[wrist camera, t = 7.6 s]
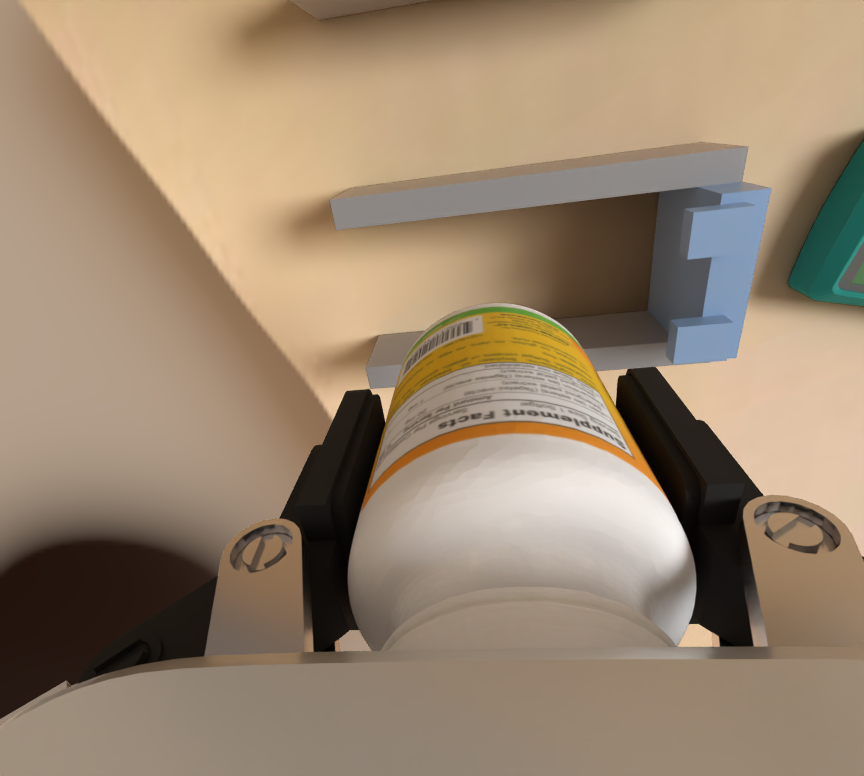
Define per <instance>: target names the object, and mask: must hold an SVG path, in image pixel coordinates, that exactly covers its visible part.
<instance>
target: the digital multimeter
mask: <svg viewBox="0 0 864 776" xmlns="http://www.w3.org/2000/svg"><path fill="white" fill-rule="evenodd" d="M788 284H789V286H790V287H791V288H792V289H794V290H796V291H798V292H800V293H802V294H804V295H806V296H808V297H809V298H811V299H813V300H815V301H823V302H832V303H840V304H849V305H857V306H864V140H863V142H862V144H861V145H860V147H859V148H858V150H857V151H856V153H855V154H854V156H853V158H852V159H851V161H850V162H849V164H848V165H847V167H846V168H845V170H844V172H843V173H842V175H841V177H840V178H839V180H838V182H837V183H836V185H835V187H834V188H833V190H832V192H831V193H830V195H829V196H828V198H827V200H826V202H825V204H824V206H823V208H822V209H821V211H820V213H819V215H818V217H817V219H816V221H815V223H814V224H813V226H812V229H811V231H810V233H809V235H808V237H807V239H806V241H805V244H804V246H803V248H802V250H801V252H800V254H799V257H798V259H797V261H796V264H795V266H794V268H793V271H792V273H791V275H790V278H789V282H788Z"/></svg>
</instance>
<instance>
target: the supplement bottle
mask: <svg viewBox="0 0 864 776" xmlns="http://www.w3.org/2000/svg"><path fill="white" fill-rule="evenodd" d="M348 592H349V599H350V605H351V609H352V612H353V615H354V618H355V621H356V623H357V626H358V628H359V630H360V632H361V634H362V636H363V638H364V639H365V641H366V643H367V644H368V646H369V647H370V648H371V650H372V651H398V650H457V649H532V648H618V647H677V646H678V644H679V643H680V641H681V639H682V637H683V635H684V633H685V631H686V629H687V627H688V624H689V622H690V619H691V617H692V613H693V609H694V604H695V596H696V570H695V563H694V559H693V554H692V551H691V548H690V545H689V542H688V539H687V536H686V534H685V532H684V530H683V528H682V526H681V524H680V522H679V520H678V518H677V515H676V513H675V512H674V510H673V508H672V506H671V504H670V502H669V500H668V499H667V497H666V495H665V493H664V491H663V489H662V488H661V486H660V484H659V482H658V480H657V479H656V477H655V475H654V473H653V472H652V470H651V468H650V466H649V465H648V463H647V461H646V459H645V457H644V456H643V454H642V452H641V450H640V448H639V447H638V445H637V443H636V441H635V439H634V438H633V436H632V434H631V432H630V431H629V429H628V427H627V425H626V424H625V422H624V420H623V418H622V417H621V415H620V413H619V411H618V410H617V408H616V406H615V404H614V402H613V401H612V399H611V397H610V395H609V393H608V392H607V390H606V388H605V386H604V385H603V383H602V381H601V379H600V378H599V376H598V374H597V372H596V370H595V369H594V367H593V365H592V363H591V362H590V360H589V358H588V356H587V355H586V353H585V352H584V350H583V349H582V347H581V346H580V344H579V343H578V341H577V340H576V339H575V338H574V337H573V335H572V334H571V333H570V332H569V331H568V330H567V329H566V328H565V327H563V326H562V325H561V324H560V323H558V322H557V321H555V320H554V319H552V318H550V317H549V316H547V315H545V314H543V313H541V312H538V311H536V310H534V309H531V308H528V307H524V306H520V305H515V304H509V303H487V304H480V305H475V306H471V307H467V308H464V309H461V310H458V311H456V312H453V313H451V314H449V315H447V316H445V317H443V318H442V319H440V320H438V321H437V322H436V323H434V324H433V325H431V326H430V327H429V328H428V329H427V330H426V331H425V332H424V333H423V334H422V335H421V336H420V337H419V338H418V339H417V340H416V342H415V343H414V344H413V346H412V347H411V349H410V350H409V352H408V354H407V356H406V358H405V360H404V362H403V365H402V368H401V370H400V373H399V376H398V380H397V383H396V387H395V390H394V394H393V398H392V401H391V405H390V409H389V412H388V416H387V419H386V423H385V427H384V430H383V434H382V438H381V441H380V445H379V448H378V452H377V455H376V459H375V462H374V466H373V469H372V473H371V476H370V479H369V483H368V487H367V490H366V494H365V497H364V500H363V504H362V507H361V511H360V515H359V518H358V522H357V526H356V530H355V534H354V538H353V542H352V547H351V551H350V557H349V564H348Z"/></svg>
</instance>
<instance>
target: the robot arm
mask: <svg viewBox="0 0 864 776" xmlns="http://www.w3.org/2000/svg"><path fill="white" fill-rule="evenodd" d="M616 408H617V410H618V411H619V413H620V415H621V417H622V418H623V420H624V422H625V424H626V425H627V427H628V429H629V431H630V432H631V434H632V436H633V438H634V439H635V441H636V443H637V445H638V447H639V448H640V450H641V452H642V454H643V456H644V457H645V459H646V461H647V463H648V465H649V466H650V468H651V470H652V472H653V473H654V475H655V477H656V479H657V480H658V482H659V484H660V486H661V488H662V489H663V491H664V493H665V495H666V497H667V499H668V500H669V502H670V504H671V506H672V508H673V510H674V512H675V513H676V515H677V518H678V520H679V522H680V524H681V526H682V528H683V530H684V532H685V534H686V536H687V539H688V542H689V545H690V548H691V551H692V554H693V559H694V563H695V570H696V596H695V604H694V609H693V613H692V617H691V619H690V622H689V624H699V625H701V626H703V627H704V628H706V629H708V630H709V631H711V632H712V645H713V647H618V648H532V649H457V650H398V651H349V652H348V651H344V652H340V643H339V638H341V637H342V636H343V635H344V634H346V633H347V632H348V631H349V630H359V628H358V626H357V623H356V621H355V618H354V615H353V612H352V609H351V605H350V599H349V592H348V564H349V557H350V551H351V547H352V542H353V538H354V534H355V530H356V526H357V522H358V518H359V515H360V511H361V507H362V504H363V500H364V497H365V494H366V490H367V487H368V483H369V479H370V476H371V473H372V469H373V466H374V462H375V459H376V455H377V452H378V448H379V445H380V441H381V438H382V434H383V430H384V427H385V419H384V414H383V409H382V404H381V400H380V397H379V395H378V394H377V395H372V392H371V390H370V389H366V390H354V391H346V393H345V395H344V397H343V399H342V402H341V404H340V406H339V408H338V410H337V413H336V415H335V417H334V419H333V422H332V424H331V426H330V428H329V431H328V433H327V435H326V437H325V440H324V442H323V444H322V445H316V446H314V448H313V449H312V451H311V453H310V455H309V457H308V459H307V461H306V463H305V465H304V468H303V470H302V472H301V474H300V476H299V478H298V480H297V482H296V485H295V487H294V489H293V491H292V493H291V495H290V497H289V499H288V501H287V504H286V506H285V508H284V510H283V512H282V514H281V516H280V518H279V519H276V518H275V519H269V520H263V521H261V522H258V523H255V524H253V525H251V526H249V527H247V528H246V529H244V530H242V531H241V532H240V533H238V534H237V535H236V536H235V537H234V538H233V539H232V540H231V541H230V542H229V544H228V545H227V546H226V548H225V549H224V552H223V554H222V557H221V562H220V567H219V573H218V576H217V577H215V578H213V579H212V580H210V581H209V582H207V583H205V584H204V585H202V586H201V587H199V588H198V589H196V590H194V591H193V592H191V593H190V594H188V595H186V596H185V597H183V598H182V599H180V600H178V601H176V602H175V603H173V604H172V605H170V606H168V607H167V608H165V609H164V610H162V611H160V612H159V613H157V614H156V615H154V616H152V617H151V618H149V619H148V620H146V621H144V622H143V623H141V624H139V625H138V626H136V627H135V628H133V629H131V630H130V631H128V632H127V633H125V634H123V635H122V636H120V637H119V638H117V639H116V640H114V641H113V642H112V643H110V644H109V645H107V646H106V647H105V648H103V649H102V650H101V651H100V652H99V653H98V654H97V655H96V656H95V657H94V658H93V659H92V660H91V661H90V663H89V664H88V665H87V667H86V668H85V670H84V671H83V673H82V674H81V676H80V678H79V680H78V683H76V684H75V685H73V686H71V685H70V684H69V683H68V682H67V681H65V682H63V683H62V684H60V685H58V686H57V687H55V688H53V689H52V690H50V691H48V692H46V693H45V694H43V695H41V696H39V697H38V698H36V699H34V700H33V701H31V702H29V703H27V704H26V705H24V706H22V707H21V708H19V709H17V710H16V711H14V712H13V713H10V714H9V715H7V716H5V717H4V718H2V719H0V776H864V557H863V556H861V554H860V551H859V549H858V547H857V545H856V542H855V540H854V538H853V535H852V534H851V532H850V531H849V529H848V528H847V527H846V525H845V524H844V523H843V522H842V521H841V520H839V519H838V518H837V517H836V516H835V515H834V514H832V513H830V512H828V511H827V510H825V509H823V508H822V507H820V506H818V505H815V504H813V503H810V502H807V501H805V500H802V499H798V498H793V497H789V496H779V495H768V496H763V494H762V493H761V492H760V490H759V489H758V488H757V487H756V485H755V484H754V483H753V482H752V480H751V479H750V478H749V477H748V475H747V474H746V473H745V472H744V470H743V469H742V468H741V466H740V465H739V464H738V463H737V461H736V460H735V459H734V458H733V456H732V455H731V454H730V453H729V451H728V450H727V449H726V447H725V446H724V445H723V444H722V442H721V441H720V440H719V439H718V437H717V436H716V435H715V434H714V432H713V431H712V430H711V429H710V427H709V426H708V425H707V424H706V423H705V422H704V421H701V420H696V419H695V418H694V416H693V415H692V414H691V412H690V411H689V410H688V408H687V407H686V406H685V404H684V403H683V402H682V401H681V399H680V398H679V397H678V395H677V394H676V393H675V391H674V390H673V389H672V388H671V386H670V385H669V384H668V382H667V381H666V380H665V378H664V377H663V376H662V374H661V373H660V372H659V371H658V369H657V368H656V367H646V368H633V369H628V370H627V373H626V375H622V376H619V378H618V383H617V397H616Z"/></svg>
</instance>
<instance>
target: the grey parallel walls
mask: <svg viewBox="0 0 864 776" xmlns="http://www.w3.org/2000/svg"><path fill="white" fill-rule="evenodd" d="M289 1H290V2H292V3H293V4H295V5H296V6H298V7H299V8H301V9H302V10H304V11H305V12H307V13H308V14H310V15H311V16H313V17H314V18H316V19H317V20H323V19H328V18H334V17H340V16H345V15H351V14H357V13H363V12H368V11H374V10H380V9H386V8H391V7H397V6H403V5H408V4H414V3H420V2H426V1H431V0H289ZM747 152H748V146H737V145H727V144H716V143H706V142H699V143H691V144H684V145H676V146H668V147H661V148H653V149H645V150H638V151H630V152H622V153H615V154H607V155H599V156H591V157H584V158H576V159H568V160H561V161H553V162H545V163H538V164H530V165H522V166H515V167H507V168H499V169H492V170H484V171H476V172H469V173H461V174H453V175H446V176H438V177H430V178H423V179H415V180H407V181H399V182H392V183H384V184H376V185H369V186H361V187H353V188H350V189H348V190H346V191H344V192H343V193H341V194H339V195H337V196H336V197H334V198H332V199H331V200H330V204H331V209H332V213H333V218H334V223H335V227H336V230H343V229H351V228H359V227H368V226H376V225H384V224H393V223H401V222H409V221H418V220H426V219H434V218H443V217H451V216H460V215H468V214H476V213H485V212H493V211H501V210H510V209H518V208H526V207H535V206H543V205H551V204H560V203H568V202H576V201H585V200H593V199H601V198H610V197H618V196H627V195H635V194H643V193H652V192H659V200H658V210H657V219H656V229H655V239H654V249H653V259H652V269H651V279H650V289H649V299H648V309H647V311H636V312H625V313H614V314H603V315H592V316H581V317H571V318H560V319H554V320H555V321H557V322H558V323H560V324H561V325H562V326H563V327H565V328H566V329H567V330H568V331H569V332H570V333H571V334H572V335H573V337H574V338H575V339H576V340H577V341H578V343H579V344H580V346H581V347H582V349H583V350H584V352H585V353H586V355H587V356H588V358H589V360H590V362H591V363H592V365H593V367H594V369H595V370H596V371H605V370H618V369H631V368H643V367H656V366H669V365H682V364H695V363H707V362H713V361H726V360H727V359H728V358H736V357H737V352H738V347H739V342H740V338H741V333H742V328H743V323H744V318H745V313H746V309H747V304H748V299H749V294H750V289H751V285H752V280H753V275H754V270H755V265H756V260H757V256H758V251H759V246H760V241H761V236H762V232H763V227H764V222H765V217H766V212H767V207H768V203H769V198H770V193H771V188H768V187H764V186H759V185H755V184H750V183H746V182H742V180H743V174H744V169H745V163H746V157H747ZM424 332H425V331H418V332H407V333H396V334H385V335H379V337H378V339H377V341H376V344H375V346H374V349H373V351H372V354H371V356H370V359H369V361H368V363H367V366H366V371H367V375H368V380H369V385H370V389H375V388H388V387H396V383H397V380H398V376H399V373H400V370H401V368H402V365H403V362H404V360H405V358H406V356H407V354H408V352H409V350H410V349H411V347H412V346H413V344H414V343H415V342H416V340H417V339H418V338H419V337H420V336H421V335H422V334H423V333H424Z"/></svg>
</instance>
